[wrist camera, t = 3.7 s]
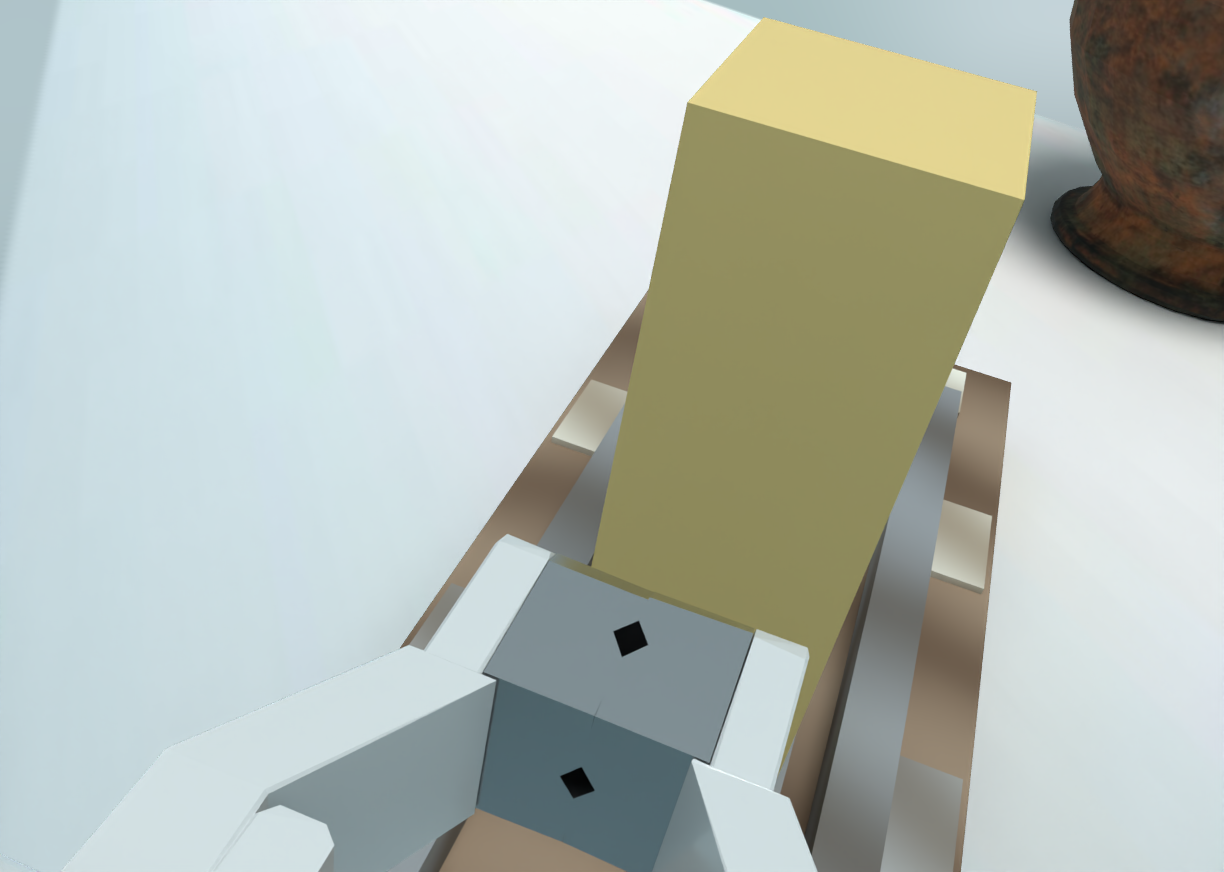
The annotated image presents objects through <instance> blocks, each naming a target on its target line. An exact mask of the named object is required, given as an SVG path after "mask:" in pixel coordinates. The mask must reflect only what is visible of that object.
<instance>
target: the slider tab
mask: <svg viewBox="0 0 1224 872" xmlns="http://www.w3.org/2000/svg"><path fill="white" fill-rule="evenodd" d="M1036 94H1037V91H1033V90H1029V89H1026V88H1022V87H1019V86H1015V85H1011V84H1008V83H1004V82H1000V81H997V80H993V79H989V78H986V77H982V76H978V75H974V74H971V73H967V72H963V71H959V70H956V69H952V68H949V67H945V66H941V65H938V64H934V63H930V62H927V61H923V60H919V59H916V58H912V57H908V56H905V55H901V54H897V53H894V52H890V51H886V50H883V49H879V48H875V47H872V46H867V45H864V44H860V43H857V42H853V41H849V40H845V39H842V38H838V37H835V36H831V35H828V34H824V33H820V32H817V31H813V30H809V29H805V28H802V27H798V26H794V25H791V24H787V23H783V22H780V21H776V20H772V19H768V18H765V17H764V18H763V19H762V20H761V21H760V22H759V23H758V24H757V26H756V27H755V28H754V29H753V30H752V31H751V32H750V33H749V34H748V36H747V37H746V38H745V39H744V40H743V41H742V42H741V43H740V44H739V46H738V47H737V48H736V49H735V50H734V51H733V52H732V53H731V55H730V56H729V57H728V58H727V59H726V60H725V61H724V62H723V63H722V65H721V66H720V67H719V68H718V69H717V70H716V71H715V72H714V73H713V75H712V76H711V77H710V78H709V79H708V80H707V81H706V82H705V83H704V85H703V86H702V87H701V88H700V89H699V90H698V91H697V92H696V93H695V95H694V96H693V97H692V98H691V99H690V100H689V101H688V102H687V107H686V112H685V117H684V122H683V127H682V131H681V136H680V141H679V146H678V151H677V155H676V160H675V165H674V170H673V175H672V180H671V184H670V189H669V194H668V199H667V204H666V208H665V213H664V218H663V223H662V228H661V233H660V237H659V242H658V247H657V252H656V257H655V262H654V266H653V271H652V276H651V281H650V286H649V290H648V295H647V300H646V305H645V310H644V315H643V319H642V324H641V329H640V334H639V339H638V343H637V348H636V353H635V358H634V363H633V368H632V372H631V377H630V382H629V387H628V392H627V397H626V401H625V406H624V411H623V416H622V421H621V425H620V430H619V435H618V440H617V445H616V450H615V454H614V459H613V464H612V469H611V474H610V478H609V483H608V488H607V493H606V498H605V503H604V507H603V512H602V517H601V522H600V527H599V531H598V536H597V541H596V546H595V551H594V556H593V560H592V565H591V567H593V568H595V569H598V570H600V571H603V572H605V573H608V574H610V575H613V576H615V577H617V578H620V579H622V580H625V581H627V582H630V583H632V584H635V585H637V586H640V587H642V588H645V589H647V590H650V591H652V592H657V593H660V594H662V595H665V596H668V597H671V598H673V599H676V600H679V601H682V602H684V603H687V604H690V605H692V606H695V607H698V608H701V609H703V610H706V611H709V612H712V613H714V614H717V615H720V616H722V617H725V618H728V619H731V620H733V621H736V622H739V623H741V624H744V625H747V626H750V627H752V628H754V632H755V631H756V629H758V630H761V631H764V632H766V633H769V634H772V635H774V636H777V637H780V638H783V639H785V640H788V641H791V642H794V643H796V644H799V645H802V646H805V647H807V648H808V652H809V660H808V664H807V668H806V672H805V675H804V679H803V683H802V686H801V690H800V694H799V698H798V701H797V705H796V709H795V712H794V716H793V720H792V724H791V727H790V731H789V735H788V739H787V742H786V746H785V750H784V753H783V757H782V761H781V765H780V768H779V772H778V776H777V779H776V783H775V787H774V792H776V793H779V794H780V792H781V788H782V785H783V781H784V777H785V774H786V770H787V766H788V763H789V759H790V755H791V751H792V748H793V744H794V740H795V737H796V733H797V730H798V728H799V726H800V723H801V721H802V719H803V716H804V714H805V712H806V709H807V707H808V705H809V702H810V700H811V698H812V695H813V693H814V691H815V688H816V686H817V684H818V681H819V679H820V677H821V674H822V672H823V670H824V667H825V665H826V663H827V660H828V658H829V656H830V653H831V651H832V649H833V646H834V644H835V642H836V639H837V637H838V635H839V632H840V630H841V628H842V625H843V623H844V621H845V618H846V616H847V614H848V611H849V609H850V607H851V604H852V602H853V600H854V597H855V595H856V593H857V590H858V588H859V586H860V583H861V581H862V579H863V576H864V574H865V572H866V569H867V567H868V565H869V562H870V560H871V558H872V555H873V553H874V551H875V548H876V546H877V543H878V541H879V539H880V536H881V534H882V532H883V529H884V527H885V525H886V522H887V520H888V518H889V515H890V513H891V511H892V508H893V506H894V504H895V501H896V499H897V497H898V494H899V492H900V490H901V487H902V485H903V483H904V480H905V478H906V476H907V473H908V471H909V469H910V466H911V464H912V462H913V459H914V457H915V455H916V452H917V450H918V448H919V445H920V443H921V441H922V438H923V436H924V434H925V431H926V429H927V427H928V424H929V422H930V420H931V417H932V415H933V413H934V410H935V408H936V406H937V403H938V401H939V399H940V396H941V394H942V392H943V389H944V387H945V385H946V382H947V380H948V378H949V375H950V373H951V371H952V368H953V366H954V364H955V361H956V359H957V357H958V354H959V352H960V350H961V347H962V345H963V343H964V340H965V338H966V336H967V333H968V331H969V329H970V326H971V324H972V322H973V319H974V317H975V315H976V312H977V310H978V308H979V305H980V303H981V301H982V298H983V296H984V294H985V291H986V289H987V287H988V284H989V282H990V280H991V277H992V275H993V273H994V270H995V268H996V265H997V263H998V261H999V258H1000V256H1001V254H1002V251H1003V249H1004V247H1005V244H1006V242H1007V240H1008V237H1009V235H1010V233H1011V230H1012V228H1013V226H1014V223H1015V221H1016V219H1017V216H1018V214H1019V212H1020V209H1021V207H1022V205H1023V202H1024V200H1025V192H1026V183H1027V174H1028V165H1029V156H1030V148H1031V139H1032V130H1033V121H1034V113H1035V104H1036ZM753 634H754V633H753Z"/></svg>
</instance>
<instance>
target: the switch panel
mask: <svg viewBox="0 0 1224 872" xmlns="http://www.w3.org/2000/svg"><path fill="white" fill-rule="evenodd" d="M647 295H648V291H647V293H646V294H645V295H644V297H643V298H642V300H641V301H640V303H639V304H638V306H637V307H636V308H635V310H634V311H633V313H632V314H631V316H630V317H629V318H628V320H627V321H626V323H625V324H624V326H623V327H622V329H621V330H620V331H619V333H618V334H617V336H616V337H615V339H614V340H613V342H612V343H611V344H610V346H609V347H608V349H607V350H606V352H605V353H604V355H603V356H602V357H601V359H600V360H599V362H598V363H597V365H596V366H595V368H594V369H593V370H592V372H591V373H590V375H589V376H588V378H587V379H586V380H585V382H584V383H583V385H582V386H581V388H580V389H579V391H578V392H577V393H576V395H575V396H574V398H573V399H572V401H571V402H570V404H569V405H568V406H567V408H566V409H565V411H564V412H563V414H562V415H561V417H560V418H559V419H558V421H557V422H556V424H555V425H554V427H553V428H552V430H551V431H550V432H549V434H548V435H547V437H546V438H545V440H544V441H543V442H542V444H541V445H540V447H539V448H538V450H537V451H536V453H535V454H534V455H533V457H532V458H531V460H530V461H529V463H528V464H527V466H526V467H525V468H524V470H523V471H522V473H521V474H520V476H519V477H518V479H517V480H516V481H515V483H514V484H513V486H512V487H511V489H510V490H509V492H508V493H507V494H506V496H505V497H504V499H503V500H502V502H501V503H500V504H499V506H498V507H497V509H496V510H495V512H494V513H493V515H492V516H491V517H490V519H489V520H488V522H487V523H486V525H485V526H484V528H483V529H482V530H481V532H480V533H479V535H478V536H477V538H476V539H475V541H474V542H473V543H472V545H471V546H470V548H469V549H468V551H467V552H466V554H465V555H464V556H463V558H462V559H461V561H460V562H459V564H458V565H457V566H456V568H455V569H454V571H453V572H452V574H451V575H450V577H449V578H448V579H447V581H446V582H445V584H444V585H443V587H442V588H441V590H440V591H439V592H438V594H437V595H436V597H435V598H434V600H433V601H432V603H431V604H430V605H429V607H428V608H427V610H426V611H425V613H424V614H423V616H422V617H421V618H420V620H419V621H418V623H417V624H416V626H415V627H414V628H413V630H412V631H411V633H410V634H409V636H408V637H407V639H406V640H405V641H404V643H403V644H402V646H401V647H400V649H401V648H403V647H405V646H408V645H410V646H413V647H416V648H418V649H421V650H424V649H425V647H426V646H427V644H428V643H429V641H430V640H431V638H432V637H433V636H434V634H435V633H436V631H437V630H438V628H439V627H440V625H441V624H442V622H443V621H444V619H445V618H446V616H447V615H448V613H449V612H450V610H451V609H452V607H453V606H454V604H455V603H456V601H457V600H458V598H459V597H460V595H461V594H462V592H463V591H464V589H465V588H466V586H467V585H468V583H469V582H470V580H471V579H472V577H473V576H474V574H475V573H476V571H477V570H478V568H479V567H480V565H481V564H482V562H483V561H484V559H485V558H486V556H487V555H488V553H489V552H490V551H491V549H492V548H493V546H494V545H495V543H496V542H498V541H499V540H500V539H501V538H503V537H504V536H505V535H507V534H509V535H511V536H514V537H516V538H519V539H521V540H524V541H526V542H528V543H531V544H533V545H536V546H538V547H541V548H543V549H546V550H548V551H550V552H553V553H555V554H556V553H558V554H561V555H563V556H566V557H568V558H571V559H573V560H576V561H578V562H581V563H583V564H585V565H588V566H590V567H591V565H592V560H593V556H594V551H595V546H596V541H597V536H598V531H599V527H600V522H601V517H602V512H603V507H604V503H605V498H606V493H607V488H608V483H609V478H610V474H611V469H612V464H613V459H614V454H615V450H616V445H617V440H618V435H619V430H620V425H621V421H622V416H623V411H624V406H625V401H626V397H627V392H628V387H629V382H630V377H631V372H632V368H633V363H634V358H635V353H636V348H637V343H638V339H639V334H640V329H641V324H642V319H643V315H644V310H645V305H646V300H647ZM1010 390H1011V382H1007V381H1004V380H1001V379H998V378H995V377H992V376H989V375H986V374H982V373H979V372H976V371H973V370H970V369H967V368H964V367H960V366H957V365H954V366H953V368H952V371H951V373H950V375H949V378H948V380H947V382H946V385H945V387H944V389H943V392H942V394H941V396H940V399H939V401H938V403H937V406H936V408H935V410H934V413H933V415H932V417H931V420H930V422H929V424H928V427H927V429H926V431H925V434H924V436H923V438H922V441H921V443H920V445H919V448H918V450H917V452H916V455H915V457H914V459H913V462H912V464H911V466H910V469H909V471H908V473H907V476H906V478H905V480H904V483H903V485H902V487H901V490H900V492H899V494H898V497H897V499H896V501H895V504H894V506H893V508H892V511H891V513H890V515H889V518H888V520H887V522H886V525H885V527H884V529H883V532H882V534H881V536H880V539H879V541H878V543H877V546H876V548H875V551H874V553H873V555H872V558H871V560H870V562H869V565H868V567H867V569H866V572H865V574H864V576H863V579H862V581H861V583H860V586H859V588H858V590H857V593H856V595H855V597H854V600H853V602H852V604H851V607H850V609H849V611H848V614H847V616H846V618H845V621H844V623H843V625H842V628H841V630H840V632H839V635H838V637H837V639H836V642H835V644H834V646H833V649H832V651H831V653H830V656H829V658H828V660H827V663H826V665H825V667H824V670H823V672H822V674H821V677H820V679H819V681H818V684H817V686H816V688H815V691H814V693H813V695H812V698H811V700H810V702H809V705H808V707H807V709H806V712H805V714H804V716H803V719H802V721H801V723H800V726H799V728H798V730H797V733H796V737H795V740H794V744H793V748H792V751H791V755H790V759H789V763H788V766H787V770H786V774H785V777H784V781H783V785H782V788H781V792H780V794H781V795H783V796H786V797H788V798H790V801H791V803H792V806H793V809H794V811H795V814H796V817H797V819H798V822H799V824H800V827H801V830H802V832H803V835H804V838H805V840H806V843H807V845H808V848H809V851H810V853H811V856H812V858H813V861H814V864H815V866H816V869H817V872H961V863H962V854H963V844H964V834H965V825H966V815H967V805H968V796H969V786H970V776H971V767H972V757H973V747H974V738H975V728H976V718H977V709H978V699H979V689H980V680H981V670H982V660H983V651H984V641H985V631H986V622H987V612H988V602H989V593H990V583H991V573H992V564H993V554H994V544H995V535H996V525H997V515H998V506H999V496H1000V486H1001V477H1002V467H1003V457H1004V448H1005V438H1006V428H1007V419H1008V409H1009V399H1010ZM386 872H627V871H625V870H623V869H620V868H618V867H616V866H614V865H612V864H609V863H607V862H605V861H603V860H601V859H598V858H596V857H594V856H592V855H590V854H587V853H585V852H583V851H581V850H579V849H576V848H574V847H572V846H570V845H568V844H565V843H563V841H562V842H561V841H558V840H556V839H553V838H551V837H548V836H546V835H543V834H541V833H538V832H536V831H533V830H530V829H528V828H525V827H523V826H520V825H518V824H515V823H513V822H510V821H507V820H505V819H502V818H500V817H497V816H495V815H492V814H490V813H487V812H485V811H482V810H479V809H477V808H475V812H474V814H473V815H472V816H470V817H469V818H467V819H465V820H464V821H462V822H461V823H459V824H458V825H456V826H455V827H453V828H452V829H450V830H449V831H447V832H446V833H444V834H443V835H441V836H440V837H438V838H437V839H435V840H433V841H432V842H430V843H429V844H427V845H426V846H424V847H423V848H421V849H420V850H418V851H417V852H415V853H414V854H412V855H411V856H409V857H408V858H406V859H405V860H403V861H402V862H400V863H398V864H397V865H395V866H394V867H392V868H391V869H389V870H388V871H386Z"/></svg>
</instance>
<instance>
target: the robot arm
mask: <svg viewBox="0 0 1224 872" xmlns="http://www.w3.org/2000/svg"><path fill="white" fill-rule="evenodd" d="M753 633H754V634H753ZM808 660H809V652H808V648H807V647H805V646H802V645H799V644H796V643H794V642H791V641H788V640H785V639H783V638H780V637H777V636H774V635H772V634H769V633H766V632H764V631H761V630H758V629H756V631H755V632H754V628H752V627H750V626H747V625H744V624H741V623H739V622H736V621H733V620H731V619H728V618H725V617H722V616H720V615H717V614H714V613H712V612H709V611H706V610H703V609H701V608H698V607H695V606H692V605H690V604H687V603H684V602H682V601H679V600H676V599H673V598H671V597H668V596H665V595H662V594H660V593H657V592H652V591H650V590H647V589H645V588H642V587H640V586H637V585H635V584H632V583H630V582H627V581H625V580H622V579H620V578H617V577H615V576H613V575H610V574H608V573H605V572H603V571H600V570H598V569H595V568H593V567H590V566H588V565H585V564H583V563H581V562H578V561H576V560H573V559H571V558H568V557H566V556H563V555H561V554H558V553H556V554H555V553H553V552H550V551H548V550H546V549H543V548H541V547H538V546H536V545H533V544H531V543H528V542H526V541H524V540H521V539H519V538H516V537H514V536H511V535H509V534H507V535H505V536H504V537H503V538H501V539H500V540H499V541H498V542H496V543H495V545H494V546H493V548H492V549H491V551H490V552H489V553H488V555H487V556H486V558H485V559H484V561H483V562H482V564H481V565H480V567H479V568H478V570H477V571H476V573H475V574H474V576H473V577H472V579H471V580H470V582H469V583H468V585H467V586H466V588H465V589H464V591H463V592H462V594H461V595H460V597H459V598H458V600H457V601H456V603H455V604H454V606H453V607H452V609H451V610H450V612H449V613H448V615H447V616H446V618H445V619H444V621H443V622H442V624H441V625H440V627H439V628H438V630H437V631H436V633H435V634H434V636H433V637H432V638H431V640H430V641H429V643H428V644H427V646H426V647H425V649H424V650H421V649H418V648H416V647H413V646H410V645H408V646H405V647H403V648H401V649H398V650H396V651H394V652H391V653H389V654H386V655H384V656H382V657H379V658H377V659H375V660H372V661H370V662H368V663H365V664H363V665H361V666H358V667H356V668H354V669H351V670H349V671H347V672H344V673H342V674H339V675H337V676H335V677H332V678H330V679H328V680H325V681H323V682H321V683H318V684H316V685H314V686H311V687H309V688H307V689H304V690H302V691H300V692H297V693H295V694H293V695H290V696H288V697H285V698H283V699H281V700H278V701H276V702H274V703H271V704H269V705H267V706H264V707H262V708H260V709H257V710H255V711H253V712H250V713H248V714H246V715H243V716H241V717H238V718H236V719H234V720H231V721H229V722H227V723H224V724H222V725H220V726H217V727H215V728H213V729H210V730H208V731H206V732H203V733H201V734H199V735H196V736H194V737H192V738H189V739H187V740H184V741H182V742H180V743H177V744H175V745H173V746H170V747H168V748H166V749H165V750H164V751H163V752H162V753H161V754H160V756H159V757H158V758H157V759H156V760H155V761H154V763H153V764H152V765H151V766H150V767H149V768H148V770H147V771H146V772H145V773H144V774H143V775H142V777H141V778H140V779H139V780H138V781H137V782H136V784H135V785H134V786H133V787H132V788H131V789H130V791H129V792H128V793H127V794H126V795H125V796H124V798H123V799H122V800H121V801H120V802H119V803H118V805H117V806H116V807H115V808H114V809H113V810H112V812H111V813H110V814H109V815H108V816H107V818H106V819H105V820H104V821H103V822H102V823H101V825H100V826H99V827H98V828H97V829H96V830H95V832H94V833H93V834H92V835H91V836H90V837H89V839H88V840H87V841H86V842H85V843H84V844H83V846H82V847H81V848H80V849H79V850H78V851H77V853H76V854H75V855H74V856H73V857H72V858H71V860H70V861H69V862H68V863H67V864H66V865H65V867H64V868H63V869H62V870H61V871H60V872H386V871H388V870H389V869H391V868H392V867H394V866H395V865H397V864H398V863H400V862H402V861H403V860H405V859H406V858H408V857H409V856H411V855H412V854H414V853H415V852H417V851H418V850H420V849H421V848H423V847H424V846H426V845H427V844H429V843H430V842H432V841H433V840H435V839H437V838H438V837H440V836H441V835H443V834H444V833H446V832H447V831H449V830H450V829H452V828H453V827H455V826H456V825H458V824H459V823H461V822H462V821H464V820H465V819H467V818H469V817H470V816H472V815H473V814H474V812H475V808H477V809H479V810H482V811H485V812H487V813H490V814H492V815H495V816H497V817H500V818H502V819H505V820H507V821H510V822H513V823H515V824H518V825H520V826H523V827H525V828H528V829H530V830H533V831H536V832H538V833H541V834H543V835H546V836H548V837H551V838H553V839H556V840H558V841H561V842H562V841H563V843H565V844H568V845H570V846H572V847H574V848H576V849H579V850H581V851H583V852H585V853H587V854H590V855H592V856H594V857H596V858H598V859H601V860H603V861H605V862H607V863H609V864H612V865H614V866H616V867H618V868H620V869H623V870H625V871H627V872H817V869H816V866H815V864H814V861H813V858H812V856H811V853H810V851H809V848H808V845H807V843H806V840H805V838H804V835H803V832H802V830H801V827H800V824H799V822H798V819H797V817H796V814H795V811H794V809H793V806H792V803H791V801H790V798H788V797H786V796H783V795H781V794H779V793H776V792H774V787H775V783H776V779H777V776H778V772H779V768H780V765H781V761H782V757H783V753H784V750H785V746H786V742H787V739H788V735H789V731H790V727H791V724H792V720H793V716H794V712H795V709H796V705H797V701H798V698H799V694H800V690H801V686H802V683H803V679H804V675H805V672H806V668H807V664H808ZM0 872H39V871H37V870H35V869H32V868H30V867H28V866H26V865H24V864H22V863H20V862H17V861H15V860H13V859H11V858H9V857H7V856H5V855H2V854H0Z"/></svg>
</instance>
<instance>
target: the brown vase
mask: <svg viewBox="0 0 1224 872" xmlns="http://www.w3.org/2000/svg"><path fill="white" fill-rule="evenodd" d="M1070 38H1071V52H1072V67H1073V81H1074V95H1075V98H1076V101H1077V104H1078V107H1079V111H1080V114H1081V117H1082V120H1083V123H1084V126H1085V130H1086V133H1087V136H1088V139H1089V142H1090V145H1091V149H1092V152H1093V155H1094V158H1095V161H1096V163H1097V165H1098V167H1099V169H1100V171H1101V173H1102V176H1101V178H1100V180H1099V181H1098V182H1097V183H1096V184H1095V185H1094V186H1086V187H1079V188H1076V189H1073V190H1070V191H1068V192H1066V193H1065V194H1063V195H1062V196H1061V197H1060V198H1059V199H1058V200H1057V201H1056V202H1055V204H1054V206H1053V209H1052V214H1051V221H1052V225H1053V229H1054V230H1055V232H1056V233H1057V235H1058V237H1059V238H1060V240H1061V241H1062V242H1063V243H1064V244H1065V246H1066V247H1067V248H1068V249H1069V250H1070V251H1071V252H1072V253H1073V254H1074V255H1075V256H1077V257H1078V258H1079V259H1080V260H1081V261H1083V262H1084V263H1085V264H1086V265H1088V266H1089V267H1090V268H1091V269H1093V270H1094V271H1096V272H1097V273H1099V274H1100V275H1102V276H1103V277H1105V278H1106V279H1108V280H1109V281H1111V282H1112V283H1114V284H1116V285H1118V286H1120V287H1122V288H1124V289H1126V290H1128V291H1129V292H1131V293H1133V294H1135V295H1137V296H1139V297H1141V298H1144V299H1146V300H1149V301H1151V302H1154V303H1156V304H1159V305H1161V306H1164V307H1166V308H1169V309H1171V310H1175V311H1178V312H1182V313H1185V314H1189V315H1192V316H1196V317H1200V318H1203V319H1208V320H1215V321H1223V322H1224V0H1075V1H1074V5H1073V8H1072V12H1071V16H1070Z"/></svg>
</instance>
